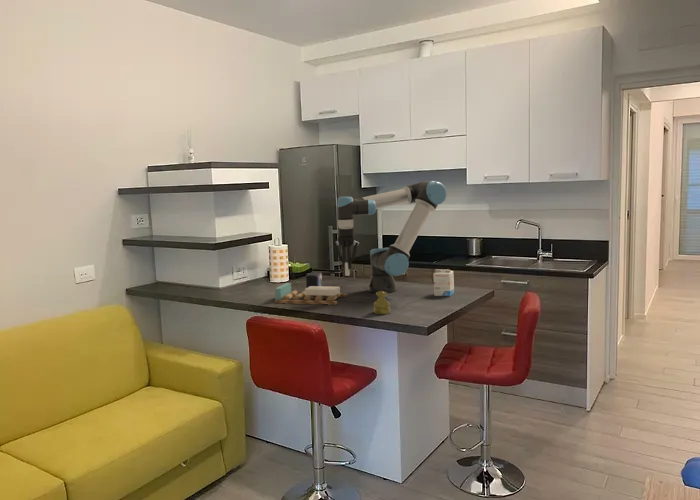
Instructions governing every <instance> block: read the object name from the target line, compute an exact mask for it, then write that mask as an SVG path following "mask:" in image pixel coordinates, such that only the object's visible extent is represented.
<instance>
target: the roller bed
mask: <svg viewBox="0 0 700 500" xmlns="http://www.w3.org/2000/svg"><path fill="white" fill-rule="evenodd" d="M347 297H348V293H342V291H340V293H338V294H337V295H335V296H325V295H305V290H303V291H301V292H298V290H296V289H294V290H291V292H290V293H288V294H287V295H285V296H283V297H282V298H281V300H276V299H275V301H274V303H275V304H282V303H285V304H286V305H287V304H291V305H322V304H328V305H329V306H336V305H337V304H338V301H337V299H338V298H347ZM325 299H326V300H325ZM328 305H327V306H328Z"/></svg>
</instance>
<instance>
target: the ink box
mask: <svg viewBox="0 0 700 500" xmlns="http://www.w3.org/2000/svg"><path fill="white" fill-rule="evenodd" d="M434 271H435V272H433V276H432V277H433V296H435V297H436V296H437V297H452V295H454V293H455V283H454V282H455V280H454V279H455V278H454V277H455V275H454V270H451V269H450V268H447V269H446V268H445V269H443V268H441V269H440V268H439V269H438V268H435V269H434Z"/></svg>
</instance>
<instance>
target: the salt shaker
mask: <svg viewBox="0 0 700 500" xmlns="http://www.w3.org/2000/svg"><path fill="white" fill-rule="evenodd" d="M387 294H388V293H386V292H383V291H379V292H377V293H375V296H377V300H375V301H374V302H373V303H372V305H373V313H374V314H376V315H388V314H390V313H391V307H390V306H391V303H390V301H388V299H386V298H385V297H386V296H387Z"/></svg>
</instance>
